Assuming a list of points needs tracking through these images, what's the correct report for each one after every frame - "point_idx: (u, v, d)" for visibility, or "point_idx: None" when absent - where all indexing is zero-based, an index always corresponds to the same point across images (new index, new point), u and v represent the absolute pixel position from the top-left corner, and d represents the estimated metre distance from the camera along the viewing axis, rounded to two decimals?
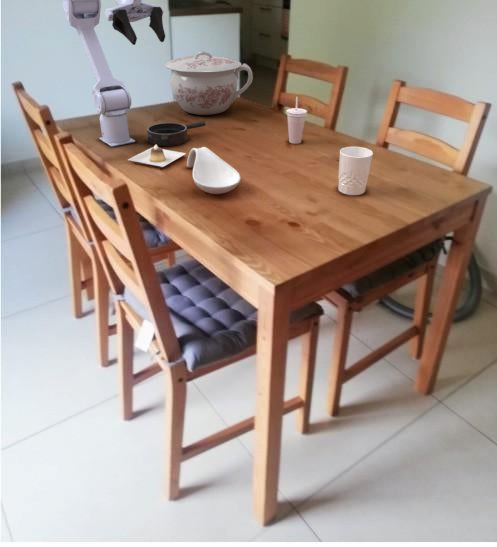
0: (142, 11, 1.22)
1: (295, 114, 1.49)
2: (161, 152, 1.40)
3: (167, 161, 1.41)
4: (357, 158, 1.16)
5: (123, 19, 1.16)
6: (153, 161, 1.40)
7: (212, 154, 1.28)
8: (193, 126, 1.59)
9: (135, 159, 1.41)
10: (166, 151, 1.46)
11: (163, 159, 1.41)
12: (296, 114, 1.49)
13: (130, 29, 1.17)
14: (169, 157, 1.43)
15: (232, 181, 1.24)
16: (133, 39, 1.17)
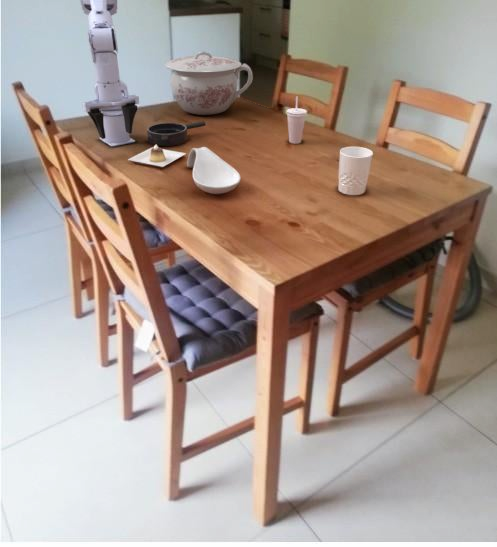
0: None
1: (295, 114, 1.49)
2: (161, 152, 1.40)
3: (167, 161, 1.41)
4: (357, 158, 1.16)
5: (98, 121, 1.25)
6: (153, 161, 1.40)
7: (212, 154, 1.28)
8: (193, 126, 1.59)
9: (135, 159, 1.41)
10: (166, 151, 1.46)
11: (163, 159, 1.41)
12: (296, 114, 1.49)
13: (102, 130, 1.27)
14: (169, 157, 1.43)
15: (232, 181, 1.24)
16: (102, 137, 1.28)
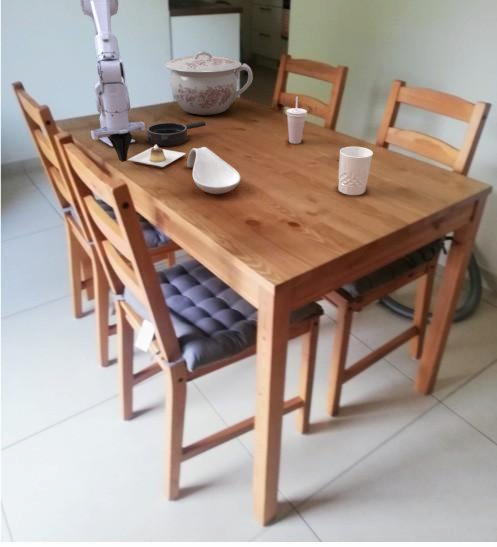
0: None
1: (295, 114, 1.49)
2: (161, 152, 1.40)
3: (167, 161, 1.41)
4: (357, 158, 1.16)
5: (118, 146, 1.31)
6: (153, 161, 1.40)
7: (212, 154, 1.28)
8: (193, 126, 1.59)
9: (135, 159, 1.41)
10: (166, 151, 1.46)
11: (163, 159, 1.41)
12: (296, 114, 1.49)
13: (121, 154, 1.33)
14: (169, 157, 1.43)
15: (232, 181, 1.24)
16: (121, 160, 1.35)
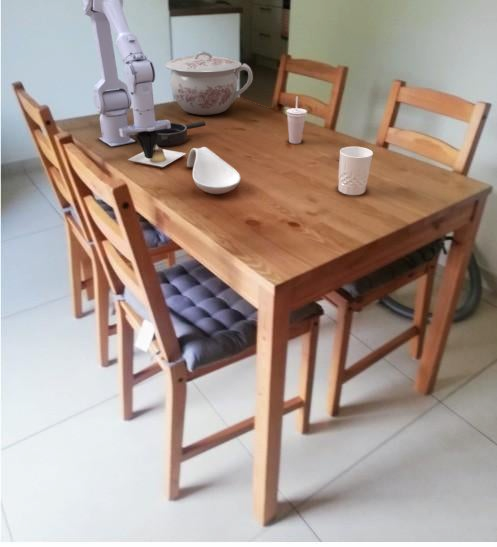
0: None
1: (295, 114, 1.49)
2: (161, 152, 1.40)
3: (167, 161, 1.41)
4: (357, 158, 1.16)
5: (145, 143, 1.35)
6: (153, 161, 1.40)
7: (212, 154, 1.28)
8: (193, 126, 1.59)
9: (135, 159, 1.41)
10: (166, 151, 1.46)
11: (163, 159, 1.41)
12: (296, 114, 1.49)
13: (148, 151, 1.37)
14: (169, 157, 1.43)
15: (232, 181, 1.24)
16: (147, 157, 1.39)
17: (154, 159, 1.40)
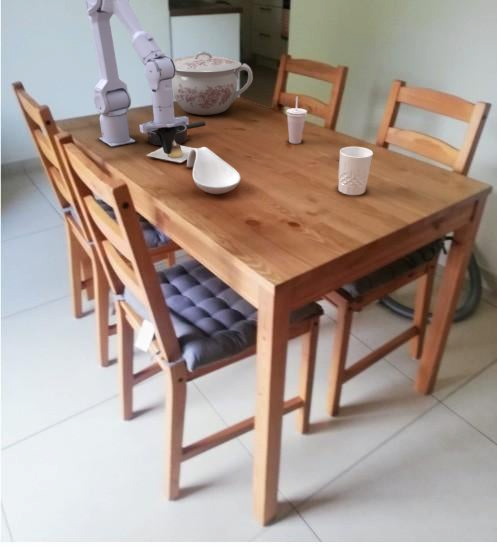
0: None
1: (295, 114, 1.49)
2: (179, 148, 1.43)
3: (184, 157, 1.43)
4: (357, 158, 1.16)
5: (165, 139, 1.38)
6: (171, 157, 1.43)
7: (212, 154, 1.28)
8: (193, 126, 1.59)
9: (153, 154, 1.44)
10: (183, 147, 1.49)
11: (181, 155, 1.44)
12: (296, 114, 1.49)
13: (167, 147, 1.40)
14: (186, 153, 1.46)
15: (232, 181, 1.24)
16: (166, 152, 1.42)
17: (172, 155, 1.43)
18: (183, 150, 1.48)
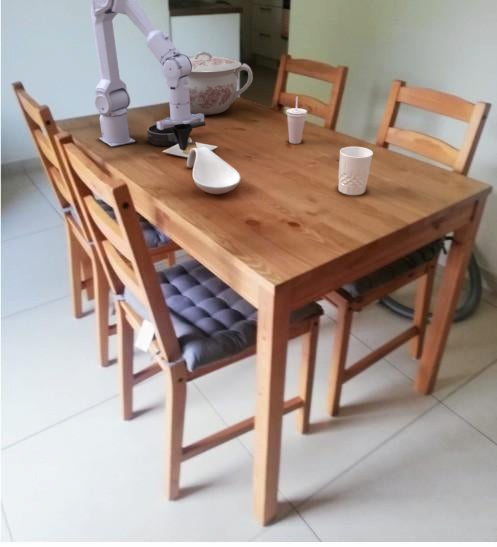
0: None
1: (295, 114, 1.49)
2: (194, 145, 1.45)
3: None
4: (357, 158, 1.16)
5: (181, 135, 1.41)
6: (186, 153, 1.46)
7: (212, 154, 1.28)
8: (193, 126, 1.59)
9: (169, 151, 1.46)
10: (198, 144, 1.51)
11: None
12: (296, 114, 1.49)
13: (183, 143, 1.43)
14: None
15: (232, 181, 1.24)
16: (182, 149, 1.45)
17: (187, 151, 1.45)
18: (198, 147, 1.51)
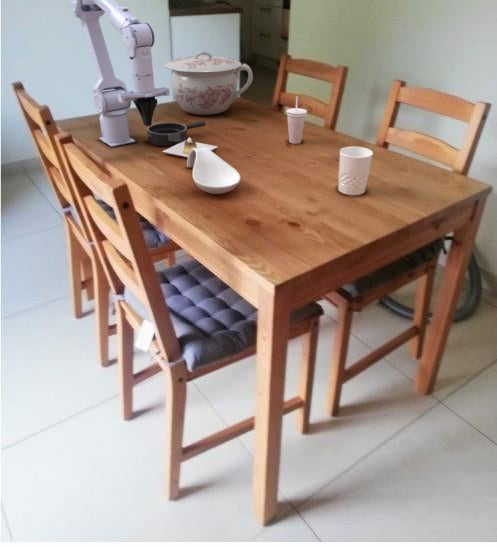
0: None
1: (295, 114, 1.49)
2: (194, 145, 1.45)
3: None
4: (357, 158, 1.16)
5: (144, 110, 1.34)
6: (186, 153, 1.46)
7: (212, 154, 1.28)
8: (193, 126, 1.59)
9: (169, 151, 1.46)
10: (198, 144, 1.51)
11: None
12: (296, 114, 1.49)
13: (146, 118, 1.36)
14: None
15: (232, 181, 1.24)
16: (146, 125, 1.38)
17: (187, 151, 1.45)
18: (198, 147, 1.51)
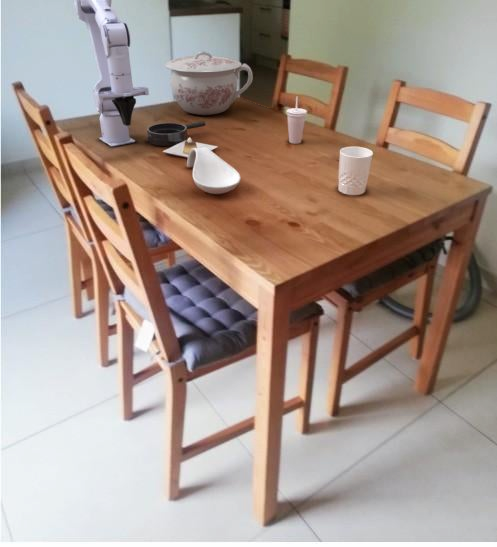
0: None
1: (295, 114, 1.49)
2: (194, 145, 1.45)
3: None
4: (357, 158, 1.16)
5: (122, 109, 1.34)
6: (186, 153, 1.46)
7: (212, 154, 1.28)
8: (193, 126, 1.59)
9: (169, 151, 1.46)
10: (198, 144, 1.51)
11: None
12: (296, 114, 1.49)
13: (125, 118, 1.36)
14: None
15: (232, 181, 1.24)
16: (125, 124, 1.38)
17: (187, 151, 1.45)
18: (198, 147, 1.51)
